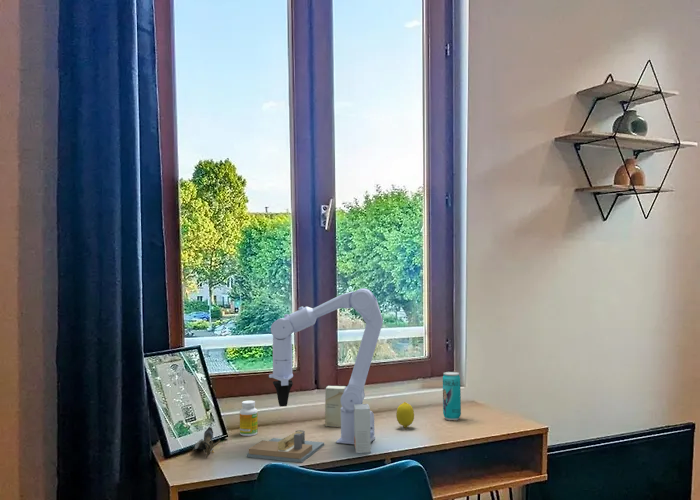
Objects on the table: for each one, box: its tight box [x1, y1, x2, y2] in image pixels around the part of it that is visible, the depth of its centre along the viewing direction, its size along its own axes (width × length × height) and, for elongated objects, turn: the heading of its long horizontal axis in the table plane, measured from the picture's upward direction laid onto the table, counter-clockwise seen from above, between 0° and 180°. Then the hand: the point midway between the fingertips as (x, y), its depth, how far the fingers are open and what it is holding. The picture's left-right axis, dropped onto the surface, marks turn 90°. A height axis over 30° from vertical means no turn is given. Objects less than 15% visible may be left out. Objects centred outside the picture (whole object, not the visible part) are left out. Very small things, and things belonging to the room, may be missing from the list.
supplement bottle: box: [239, 400, 259, 437], centre depth 187 cm, size 5×5×10 cm
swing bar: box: [278, 429, 306, 450], centre depth 167 cm, size 12×3×4 cm, turn 158°
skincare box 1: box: [324, 385, 347, 428], centre depth 196 cm, size 6×4×12 cm
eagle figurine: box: [192, 426, 221, 459], centre depth 168 cm, size 8×7×9 cm
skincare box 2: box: [353, 403, 372, 454], centre depth 169 cm, size 6×4×12 cm
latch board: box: [246, 433, 325, 463], centre depth 169 cm, size 16×16×6 cm
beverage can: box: [442, 371, 462, 421], centre depth 202 cm, size 6×6×15 cm
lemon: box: [396, 401, 415, 429], centre depth 191 cm, size 6×6×8 cm
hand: (283, 405), depth 180 cm, fingers closed
